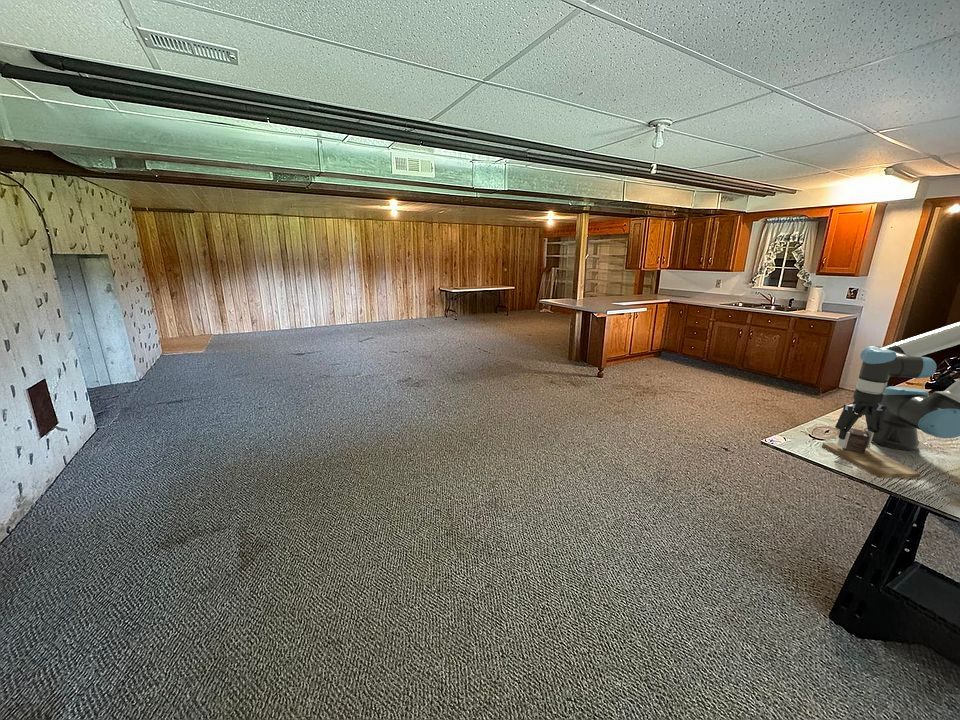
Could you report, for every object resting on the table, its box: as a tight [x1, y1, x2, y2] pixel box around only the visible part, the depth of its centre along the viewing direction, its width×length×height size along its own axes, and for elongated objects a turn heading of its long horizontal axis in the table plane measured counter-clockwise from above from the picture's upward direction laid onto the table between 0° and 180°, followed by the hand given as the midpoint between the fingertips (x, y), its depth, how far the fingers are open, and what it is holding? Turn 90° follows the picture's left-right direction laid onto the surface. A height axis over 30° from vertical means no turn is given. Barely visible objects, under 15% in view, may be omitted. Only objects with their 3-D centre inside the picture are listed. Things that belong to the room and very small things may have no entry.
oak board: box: [821, 442, 922, 479], centre depth 138 cm, size 14×22×2 cm, turn 0°
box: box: [843, 427, 869, 454], centre depth 143 cm, size 6×6×7 cm
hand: (853, 446), depth 144 cm, fingers closed on box, 8 cm apart
